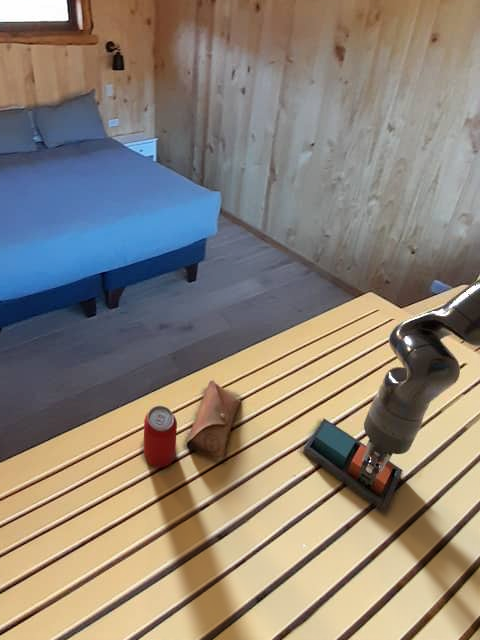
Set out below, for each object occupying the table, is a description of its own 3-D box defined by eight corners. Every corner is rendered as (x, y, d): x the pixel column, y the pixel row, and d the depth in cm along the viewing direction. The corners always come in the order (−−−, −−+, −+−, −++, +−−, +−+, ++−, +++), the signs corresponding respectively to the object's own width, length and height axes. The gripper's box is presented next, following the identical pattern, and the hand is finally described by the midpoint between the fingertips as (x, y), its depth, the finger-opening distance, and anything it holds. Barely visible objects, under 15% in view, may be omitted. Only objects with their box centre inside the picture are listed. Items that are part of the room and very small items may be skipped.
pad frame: (398, 478, 81) (402, 470, 80) (382, 514, 76) (386, 506, 74) (321, 425, 92) (323, 417, 90) (302, 454, 86) (304, 446, 85)
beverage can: (179, 447, 88) (182, 411, 82) (166, 475, 83) (169, 439, 77) (152, 433, 91) (153, 397, 85) (138, 459, 86) (138, 423, 80)
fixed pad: (351, 453, 85) (355, 441, 83) (341, 469, 82) (346, 458, 80) (322, 433, 89) (326, 422, 87) (312, 448, 86) (316, 437, 84)
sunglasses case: (225, 465, 84) (211, 441, 82) (195, 463, 88) (182, 440, 87) (242, 397, 98) (230, 376, 97) (216, 398, 102) (205, 378, 101)
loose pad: (388, 478, 80) (394, 466, 79) (379, 496, 77) (385, 484, 76) (356, 456, 84) (361, 444, 83) (347, 473, 81) (351, 461, 80)
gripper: (404, 461, 66) (376, 517, 74) (428, 408, 75) (400, 463, 82) (356, 430, 71) (334, 485, 79) (383, 383, 80) (361, 437, 87)
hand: (368, 473), depth 81 cm, fingers closed on loose pad, 5 cm apart
